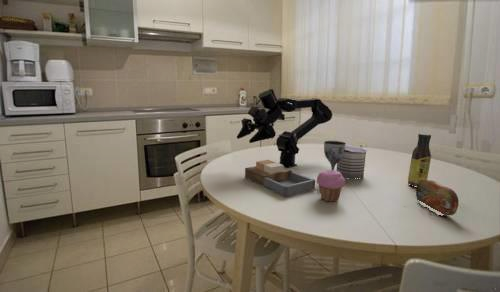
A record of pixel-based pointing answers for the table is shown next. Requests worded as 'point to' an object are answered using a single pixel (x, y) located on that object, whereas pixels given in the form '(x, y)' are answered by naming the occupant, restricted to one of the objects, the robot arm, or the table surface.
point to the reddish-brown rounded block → (437, 197)
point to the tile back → (262, 164)
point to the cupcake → (330, 184)
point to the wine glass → (334, 151)
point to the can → (352, 162)
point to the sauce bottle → (420, 160)
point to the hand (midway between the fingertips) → (243, 139)
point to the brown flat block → (266, 175)
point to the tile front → (273, 168)
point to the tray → (290, 185)
